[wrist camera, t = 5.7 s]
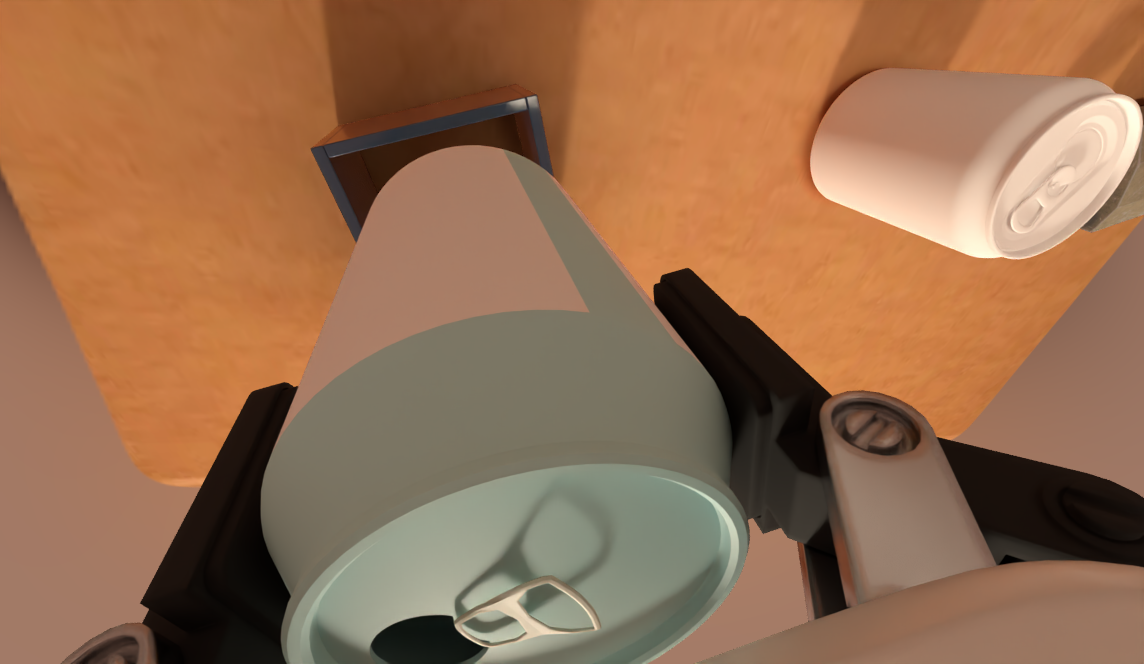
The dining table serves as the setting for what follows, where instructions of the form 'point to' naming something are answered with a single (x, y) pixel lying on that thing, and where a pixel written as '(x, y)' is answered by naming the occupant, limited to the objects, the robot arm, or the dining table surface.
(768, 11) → the dining table surface
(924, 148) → the beverage can
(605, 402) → the can
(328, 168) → the holder
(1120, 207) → the padlock
